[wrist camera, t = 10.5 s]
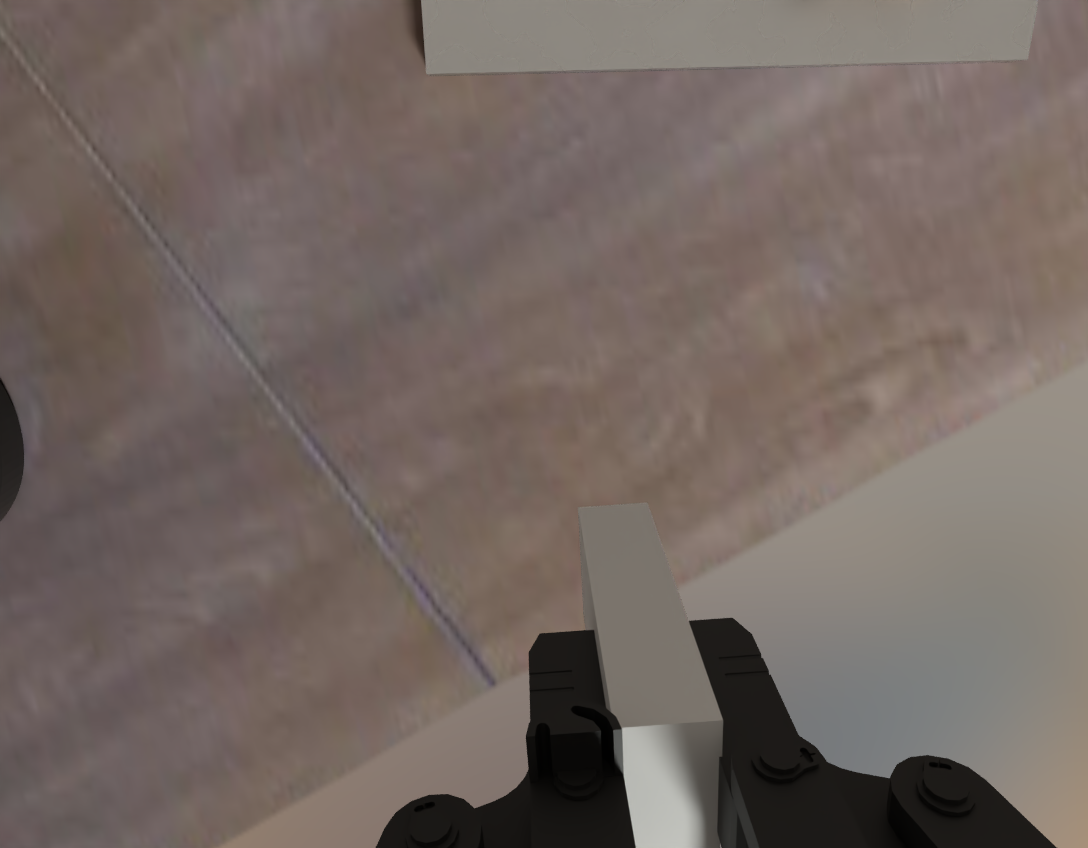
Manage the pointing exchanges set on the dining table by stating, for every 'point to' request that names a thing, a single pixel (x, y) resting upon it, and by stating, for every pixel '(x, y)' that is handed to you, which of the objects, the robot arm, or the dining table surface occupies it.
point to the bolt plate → (717, 34)
